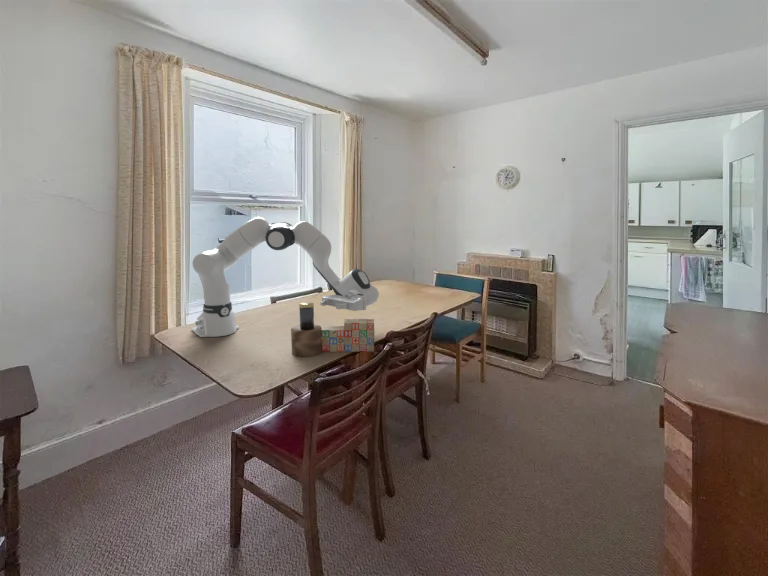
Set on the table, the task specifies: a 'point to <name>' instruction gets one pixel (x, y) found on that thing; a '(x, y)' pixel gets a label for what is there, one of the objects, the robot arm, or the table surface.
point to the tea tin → (306, 316)
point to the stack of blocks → (349, 336)
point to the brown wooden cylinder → (306, 341)
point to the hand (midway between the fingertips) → (329, 305)
